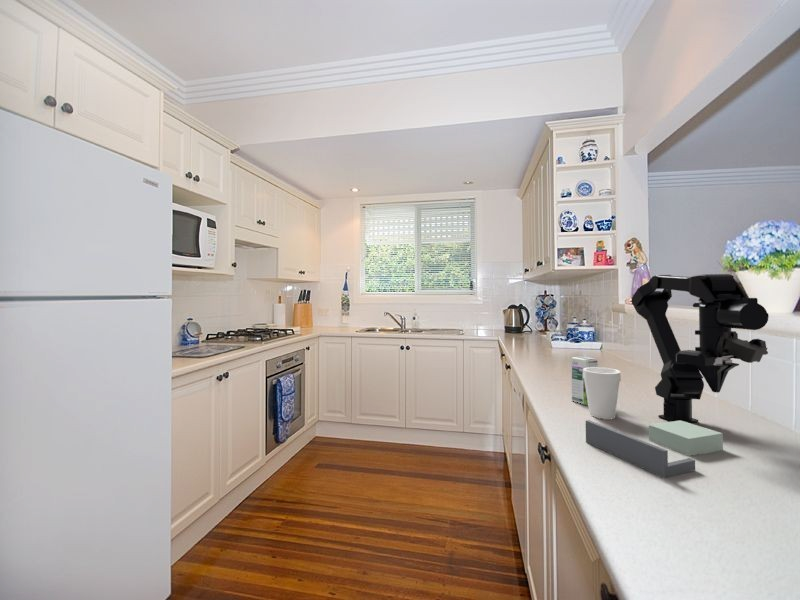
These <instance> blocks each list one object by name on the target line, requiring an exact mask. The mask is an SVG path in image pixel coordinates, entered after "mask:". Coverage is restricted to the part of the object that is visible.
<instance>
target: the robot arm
mask: <svg viewBox="0 0 800 600" xmlns="http://www.w3.org/2000/svg"><path fill="white" fill-rule="evenodd" d="M661 290H662V291H661ZM672 291H679V292H680V291H682V292H688V293H689V295H691V296H693V297H696V298H698V300H696V301H695V302H694V303H693V304H692V307H693V308H698V317H699V318H698V321H699V322H698V323H699V324H698V325H699V326H698V327H699V328H698V330H697V329H696V330H695V329H694V335H697V336H699V338H698V339H699V346H695V347H694V349H692V350H691V349H686V350H685V349H684V350H683V349H682V350H681V348H680V345H679V343H678V341H677V338H676V336H675V334H674V331H673V329H672V326H671V324H670V322H669V319H668V317H667V314H666V313H667V311H668V308H669V304H668V302H669V301H670V300H671V299H672V297H673V293H672ZM631 303H632V305H633V307H634V309H635V312H636V314H638V315H639V316H640V317H641V318H643V319H644V320H645V321H646V323H647V325H648V328H649V330H650V333H651V336H652V338H653V341H654V343H655V346H656V348H657V350H658V353H659V356H660V359H661V361H662V364H663V365H662V369H661V371H660V377H661V380H660V381H659V382H658V383H657V385H656V386H655V387H654V390H655V395H656V396H657V397H660V398H663V405H662V406H663V414H659V415H658V418H660V419H663V420H667V421H668V422H672V421H679V420H681V421H684V422H687V423H691V424H694V423H699V419H698V418H693V400H701V397H702V394H703V391H704V387H705V382H706V383H707V384H708V385H707V386H709V389H711V392H713V393H716V394H717V393H720V392H721V390H722V387H723V385H724V384H725V383H724V382H725V380H726V377H727V375H728V373H729V372H730V371H731V370H732V369H734V368H735V367H739V366H740V363H736V362H733V359H737V360H741V361H742V362H744V363H748V364H750V363H751V364H752V363H754V362H756V363H760V362H761V360H762V358H763V356H766V355H768V354H769V352H768V351H767V350H768V347H767V344H766V341H765V340H762V339H760V338H753V339H751V340H750V341H749V340H746V339H745V340H744V339H740V338H739V336H738V335H739V334H738V333H737V331H735V330H733V331H732V329H737V330H738V329H739V330H749V331H750V330H751V331H758V330H760V329H763V328H764V327H765V326H766V325H767V323H768V321H769V316H770V315H769V313H768V312H767V310H766V308H765V306H763V305H761V304H760V303H759V302H758V298H757V297H748V296H747V294H746V292H745V291H744V290H743V289H742V287H741V286H740V284H739V283H738V281H737V280H736V279H735V278H734V275H733V274H730V273H717V274H716V273H715V274H714V273H712V274H711V273H710V274H704V273H703V274H702V273H701V274H697V275H691V276H683V275H682V276H681V275H672V274H656V275H652V277H651V278H650V279H649V281H647V282H645V284H643V285H641V286H639V287H637V289H636V291H635V292H634V294H633V295H632V296H631ZM703 379H704V380H705V382H704V380H703Z"/></svg>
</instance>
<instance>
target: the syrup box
mask: <svg viewBox="0 0 800 600" xmlns="http://www.w3.org/2000/svg"><path fill="white" fill-rule="evenodd" d="M598 361H599V359H598V358H593V357H587V356H586V357H585V356H573V357H571V358H570V362H571V363H570V365H571V366H570V368H571V370H570V371H571V373H570V374H571V380H570V381H571V402H573V401H574V403H577V402H578V403H577V404H580V403H581V404H580V405H583V406H584V405H585V406H588V400H587V394H586V387H585V381H584V378H583V369H584V368H590V367H598ZM598 368H599V367H598Z"/></svg>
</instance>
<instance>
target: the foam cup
mask: <svg viewBox="0 0 800 600" xmlns="http://www.w3.org/2000/svg"><path fill="white" fill-rule="evenodd" d="M583 378H584V381H585V387H586V394H587V400H588V405H587V406H588V412H589V415H590V416H591V417H593V416H594V417H593V418H595V417H597V418H596V419H600V418H603V419H602V420H612V419H611V418H614V419H615V417H616V410H617V405H618V398H619V397H618V396H619V390H620V383H621V378H622V376H621V370H618V369H616V368H615V369H614V368H608V367H590V368H584V369H583Z"/></svg>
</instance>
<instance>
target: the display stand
mask: <svg viewBox="0 0 800 600" xmlns="http://www.w3.org/2000/svg"><path fill="white" fill-rule="evenodd" d="M585 443H587V444H589V445H591V446H594V447H596V448H598V449H600V450H603V451H605V452H607V453H609V454H611V455H614V456H615V457H618V458H620V459H622V460H624V461H626V462H629V463H631V464H633V465H635V466H637V467H639V468H642V469H644V470H646V471H648V472H650V473H653V474H654V475H657V476H659V477H662V478H664V479H665V478H669V477H670V478H671V477H674V476H678V475H681V474H686V473H690V472H694V471H696V459H693V458H691V457H689V458H684V459H678V460H674V461H669V462H668V460H669V457H668V450H667V449H665V448H662V447H660V446H657V445H655V444H653V443H650V442H647V441H644V440H641V439H638V438H636V437H634V436H631V435H628V434H626V433H623V432H621V431H618V430H617V429H615V428H610V427H608V426H605V425H603V424H600V423H598V422H594V421H593V420H590V419H587V420H585Z"/></svg>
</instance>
